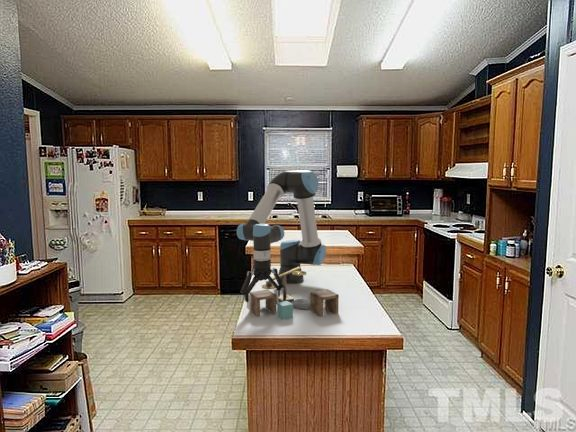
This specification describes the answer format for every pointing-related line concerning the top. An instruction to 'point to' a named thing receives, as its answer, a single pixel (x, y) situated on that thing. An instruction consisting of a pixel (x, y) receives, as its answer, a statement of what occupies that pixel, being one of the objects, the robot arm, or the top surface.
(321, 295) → the cover
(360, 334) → the top surface
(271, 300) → the cover
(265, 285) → the balance
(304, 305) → the dish
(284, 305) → the block
